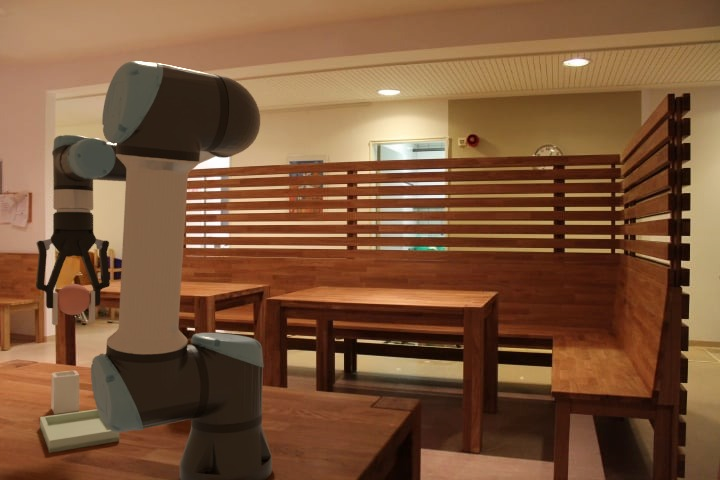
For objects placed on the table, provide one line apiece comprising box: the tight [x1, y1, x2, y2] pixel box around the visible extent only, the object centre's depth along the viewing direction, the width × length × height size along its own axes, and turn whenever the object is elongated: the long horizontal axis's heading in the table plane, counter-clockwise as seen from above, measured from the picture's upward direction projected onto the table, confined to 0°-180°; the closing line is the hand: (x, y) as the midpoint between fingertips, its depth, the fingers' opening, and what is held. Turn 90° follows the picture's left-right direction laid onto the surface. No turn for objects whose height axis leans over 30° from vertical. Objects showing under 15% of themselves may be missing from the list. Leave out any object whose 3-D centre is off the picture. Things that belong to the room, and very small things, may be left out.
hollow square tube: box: [50, 370, 80, 415], centre depth 136 cm, size 5×5×8 cm
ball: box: [57, 283, 90, 316], centre depth 127 cm, size 6×6×6 cm
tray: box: [39, 408, 120, 453], centre depth 120 cm, size 16×12×2 cm
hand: (73, 322), depth 126 cm, fingers closed on ball, 6 cm apart
